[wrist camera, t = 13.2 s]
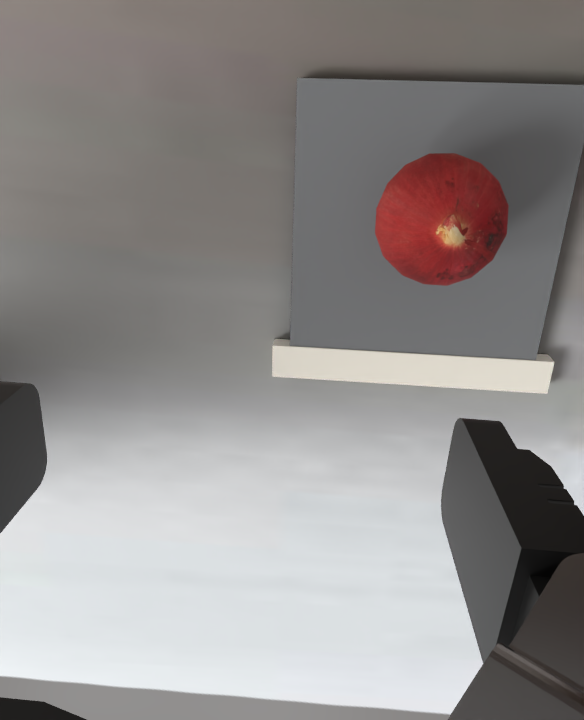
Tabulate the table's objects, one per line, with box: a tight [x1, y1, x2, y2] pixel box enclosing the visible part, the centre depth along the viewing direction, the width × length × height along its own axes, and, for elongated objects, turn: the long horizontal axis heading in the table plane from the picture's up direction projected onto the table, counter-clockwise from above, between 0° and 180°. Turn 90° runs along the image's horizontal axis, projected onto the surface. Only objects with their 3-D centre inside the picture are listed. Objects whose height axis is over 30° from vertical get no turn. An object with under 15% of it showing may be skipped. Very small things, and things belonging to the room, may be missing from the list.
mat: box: [272, 78, 584, 394], centre depth 30 cm, size 16×16×1 cm
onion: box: [375, 153, 509, 286], centre depth 25 cm, size 6×6×8 cm
